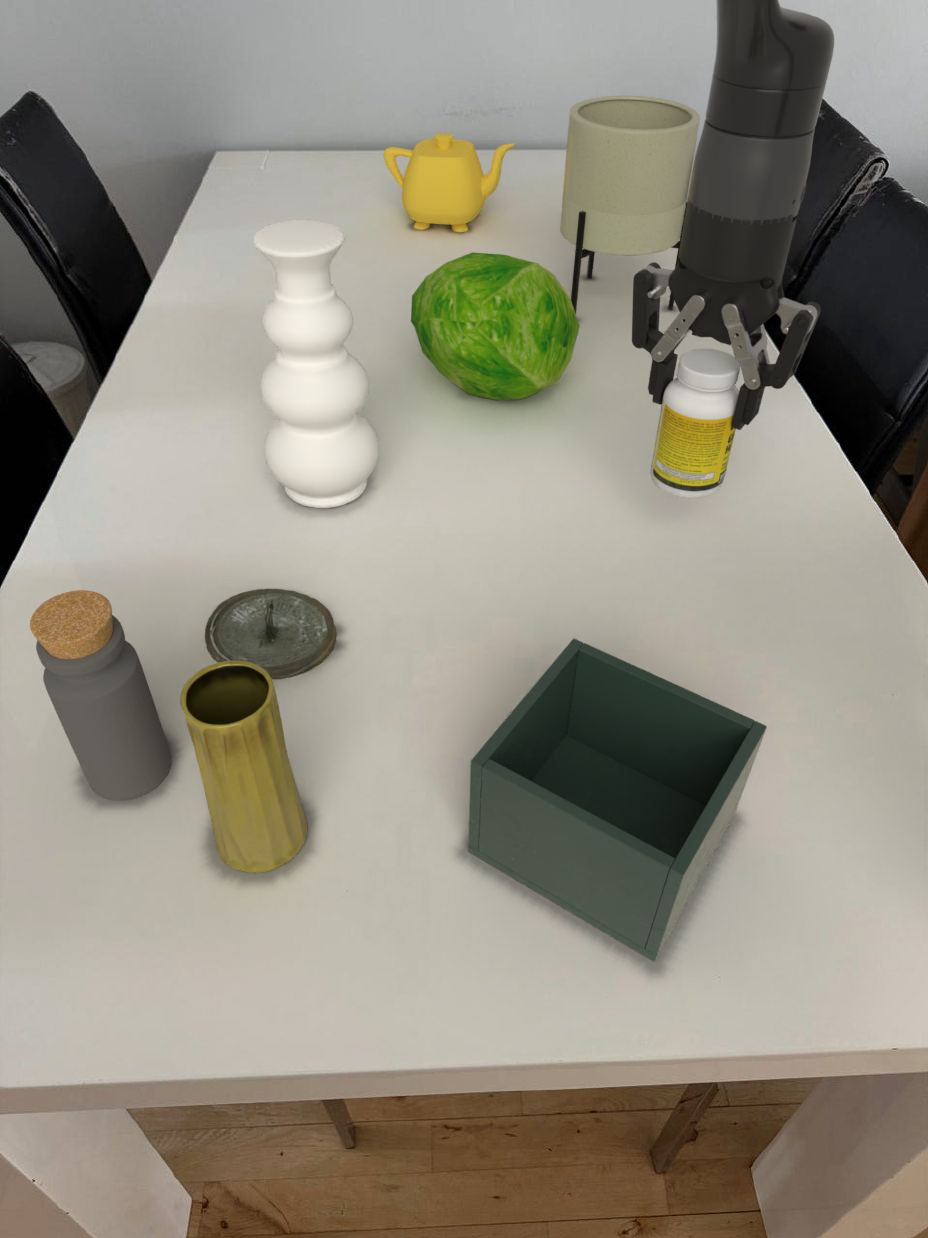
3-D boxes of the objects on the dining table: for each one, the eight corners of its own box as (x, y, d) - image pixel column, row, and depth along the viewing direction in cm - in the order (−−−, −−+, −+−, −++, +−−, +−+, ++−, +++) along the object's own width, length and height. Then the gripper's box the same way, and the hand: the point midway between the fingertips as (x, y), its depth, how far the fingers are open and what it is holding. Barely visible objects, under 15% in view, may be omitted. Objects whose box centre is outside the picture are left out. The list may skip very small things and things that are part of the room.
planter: (666, 334, 116) (701, 136, 100) (544, 318, 119) (558, 124, 103) (678, 286, 126) (710, 100, 111) (565, 272, 129) (581, 90, 114)
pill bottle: (730, 500, 76) (761, 380, 69) (657, 502, 76) (680, 381, 68) (712, 459, 81) (738, 342, 73) (643, 461, 80) (662, 343, 73)
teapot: (507, 241, 138) (511, 152, 129) (377, 232, 140) (373, 144, 131) (516, 210, 147) (520, 125, 139) (395, 201, 149) (392, 118, 141)
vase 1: (326, 824, 62) (303, 682, 52) (263, 891, 58) (226, 751, 48) (260, 782, 64) (226, 639, 55) (196, 844, 61) (147, 702, 51)
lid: (196, 647, 76) (172, 613, 72) (289, 576, 79) (271, 539, 75) (267, 723, 71) (245, 691, 67) (364, 643, 74) (349, 608, 70)
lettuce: (611, 372, 108) (563, 236, 106) (576, 364, 89) (516, 199, 88) (484, 427, 114) (436, 299, 113) (426, 430, 96) (368, 277, 94)
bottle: (74, 763, 65) (4, 610, 55) (149, 723, 68) (96, 570, 58) (109, 816, 62) (41, 664, 52) (186, 772, 65) (137, 619, 55)
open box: (733, 817, 63) (767, 725, 56) (654, 962, 55) (683, 876, 48) (561, 731, 68) (573, 637, 61) (467, 852, 60) (470, 760, 54)
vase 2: (396, 467, 93) (385, 216, 76) (358, 530, 86) (337, 266, 68) (297, 450, 95) (264, 202, 78) (252, 510, 88) (205, 249, 70)
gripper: (625, 190, 63) (599, 406, 74) (831, 234, 57) (768, 461, 69) (671, 162, 68) (639, 369, 79) (866, 201, 62) (802, 418, 73)
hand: (700, 411), depth 74 cm, fingers closed on pill bottle, 6 cm apart
